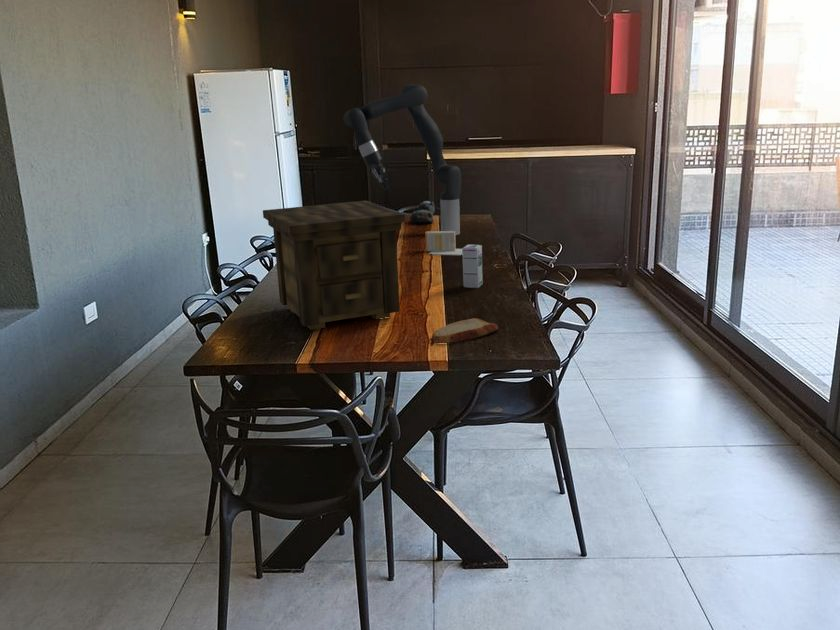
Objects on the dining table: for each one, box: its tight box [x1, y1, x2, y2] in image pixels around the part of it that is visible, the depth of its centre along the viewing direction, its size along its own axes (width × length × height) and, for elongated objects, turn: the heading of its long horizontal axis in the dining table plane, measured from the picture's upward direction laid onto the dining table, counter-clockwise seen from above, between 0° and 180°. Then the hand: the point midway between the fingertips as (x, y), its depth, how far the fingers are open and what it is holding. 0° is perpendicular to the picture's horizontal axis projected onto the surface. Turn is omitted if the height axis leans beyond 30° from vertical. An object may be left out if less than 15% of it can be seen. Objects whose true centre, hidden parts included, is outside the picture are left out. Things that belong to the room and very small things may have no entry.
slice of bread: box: [431, 317, 499, 344], centre depth 209 cm, size 18×18×4 cm
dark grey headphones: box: [408, 200, 436, 224], centre depth 392 cm, size 15×12×14 cm
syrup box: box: [461, 244, 484, 289], centre depth 260 cm, size 6×6×14 cm
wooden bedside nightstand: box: [262, 200, 407, 331], centre depth 230 cm, size 35×35×33 cm
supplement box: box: [424, 230, 457, 252], centre depth 320 cm, size 8×5×13 cm
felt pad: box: [428, 248, 462, 256], centre depth 318 cm, size 12×18×1 cm, turn 75°
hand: (387, 189), depth 324 cm, fingers closed
